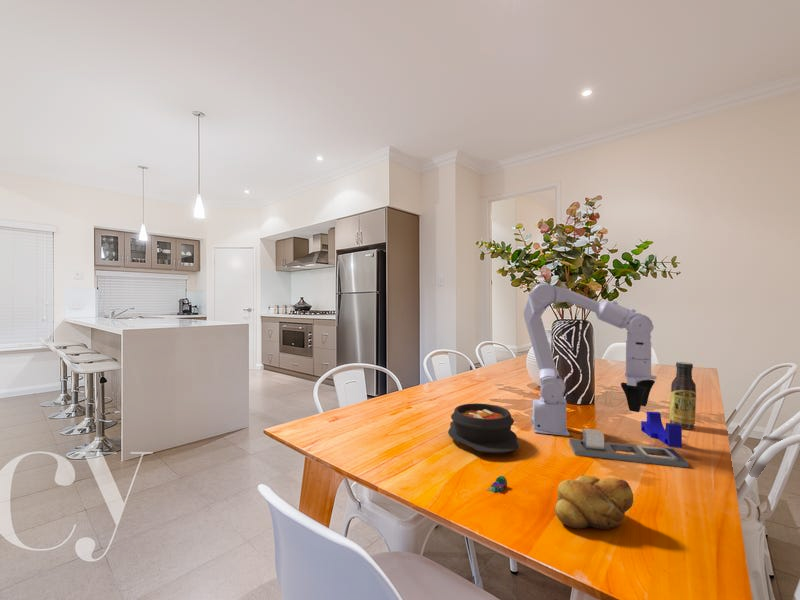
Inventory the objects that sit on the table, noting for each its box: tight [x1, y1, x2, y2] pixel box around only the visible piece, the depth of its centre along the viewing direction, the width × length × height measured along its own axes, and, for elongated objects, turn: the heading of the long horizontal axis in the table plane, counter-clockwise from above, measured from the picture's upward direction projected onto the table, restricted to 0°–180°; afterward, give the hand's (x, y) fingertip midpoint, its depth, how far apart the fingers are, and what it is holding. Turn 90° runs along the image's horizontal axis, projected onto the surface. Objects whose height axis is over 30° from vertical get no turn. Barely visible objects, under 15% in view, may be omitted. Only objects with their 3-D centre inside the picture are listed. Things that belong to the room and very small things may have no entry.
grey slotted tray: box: [568, 438, 689, 469], centre depth 90 cm, size 24×8×2 cm, turn 74°
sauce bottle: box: [668, 361, 697, 430], centre depth 110 cm, size 6×6×20 cm
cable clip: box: [640, 410, 683, 448], centre depth 101 cm, size 12×4×6 cm, turn 169°
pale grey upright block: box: [582, 428, 605, 451], centre depth 92 cm, size 4×4×5 cm
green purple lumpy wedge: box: [486, 475, 508, 494], centre depth 73 cm, size 4×3×2 cm, turn 140°
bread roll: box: [554, 474, 634, 530], centre depth 63 cm, size 13×10×8 cm
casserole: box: [447, 403, 520, 454], centre depth 99 cm, size 25×19×8 cm
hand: (637, 408), depth 96 cm, fingers open, 7 cm apart
